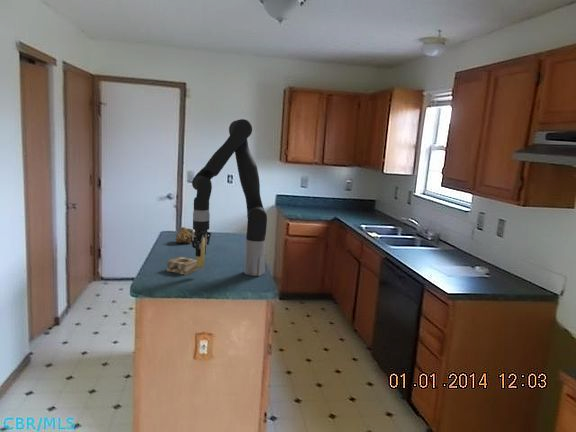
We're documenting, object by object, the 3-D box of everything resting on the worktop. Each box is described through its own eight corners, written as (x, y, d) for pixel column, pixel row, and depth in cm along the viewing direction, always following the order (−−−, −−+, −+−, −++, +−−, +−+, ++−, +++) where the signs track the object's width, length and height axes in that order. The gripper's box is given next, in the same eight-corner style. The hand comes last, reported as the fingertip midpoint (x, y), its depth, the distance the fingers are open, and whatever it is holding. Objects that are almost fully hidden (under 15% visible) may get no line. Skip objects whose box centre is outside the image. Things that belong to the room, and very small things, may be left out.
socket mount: (198, 270, 220) (198, 260, 219) (181, 276, 208) (181, 266, 207) (179, 266, 224) (180, 256, 223) (162, 272, 212) (162, 262, 211)
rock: (180, 240, 279) (180, 224, 277) (196, 242, 277) (196, 226, 276) (172, 244, 267) (173, 228, 265) (189, 246, 266) (189, 229, 264)
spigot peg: (205, 265, 210) (206, 236, 208) (201, 267, 207) (202, 238, 205) (199, 264, 212) (199, 235, 209) (195, 266, 208) (195, 237, 206)
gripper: (199, 222, 198) (198, 260, 201) (216, 218, 211) (215, 253, 214) (185, 220, 201) (184, 257, 203) (202, 216, 213) (202, 251, 216)
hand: (200, 255), depth 208 cm, fingers closed on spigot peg, 3 cm apart
